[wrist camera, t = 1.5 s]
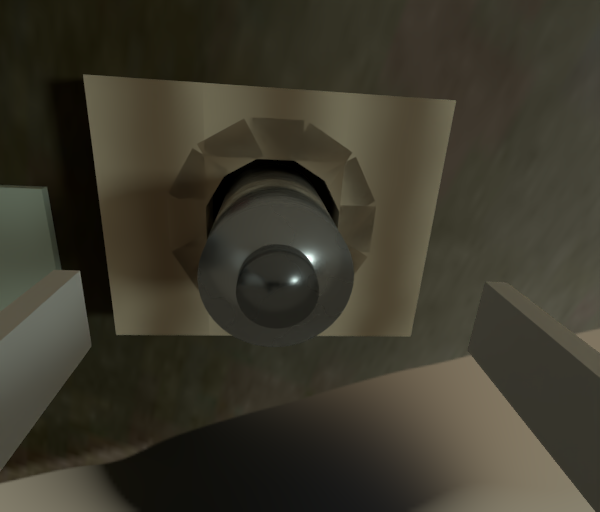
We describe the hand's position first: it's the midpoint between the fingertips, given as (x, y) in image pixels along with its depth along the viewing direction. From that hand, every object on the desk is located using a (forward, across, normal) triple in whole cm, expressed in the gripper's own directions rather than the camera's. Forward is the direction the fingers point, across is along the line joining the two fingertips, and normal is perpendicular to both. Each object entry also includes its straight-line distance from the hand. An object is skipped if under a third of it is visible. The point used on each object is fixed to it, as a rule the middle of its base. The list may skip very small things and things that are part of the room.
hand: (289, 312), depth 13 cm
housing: (+12, 0, 0) cm, 12 cm away
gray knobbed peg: (+12, 0, 0) cm, 12 cm away
